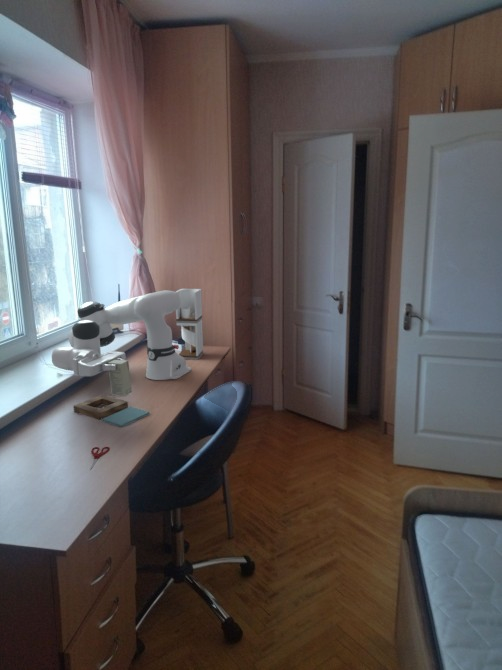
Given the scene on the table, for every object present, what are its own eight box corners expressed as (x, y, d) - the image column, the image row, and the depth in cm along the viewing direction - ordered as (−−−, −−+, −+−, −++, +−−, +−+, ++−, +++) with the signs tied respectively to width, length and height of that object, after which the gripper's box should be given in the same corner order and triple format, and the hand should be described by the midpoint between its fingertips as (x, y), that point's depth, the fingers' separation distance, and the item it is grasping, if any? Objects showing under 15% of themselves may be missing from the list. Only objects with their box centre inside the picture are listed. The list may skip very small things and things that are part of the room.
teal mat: (130, 408, 187) (130, 406, 187) (149, 413, 182) (149, 411, 182) (102, 420, 176) (101, 418, 176) (121, 427, 170) (121, 425, 170)
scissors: (110, 449, 156) (110, 446, 155) (99, 471, 142) (99, 467, 142) (93, 449, 155) (92, 446, 155) (81, 471, 142) (80, 468, 142)
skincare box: (132, 392, 178) (129, 360, 175) (125, 396, 174) (122, 364, 171) (117, 390, 180) (114, 358, 177) (110, 394, 176) (107, 362, 173)
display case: (183, 353, 263) (181, 288, 255) (203, 353, 261) (201, 289, 253) (177, 359, 252) (175, 291, 244) (197, 359, 250) (195, 292, 242)
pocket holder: (103, 400, 195) (102, 394, 195) (128, 407, 188) (127, 401, 187) (74, 411, 184) (73, 405, 183) (99, 420, 176) (98, 413, 176)
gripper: (108, 361, 189) (138, 365, 184) (71, 377, 171) (103, 382, 166) (106, 346, 188) (137, 349, 183) (69, 360, 169) (102, 364, 164)
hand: (121, 365), depth 174 cm, fingers closed on skincare box, 4 cm apart
